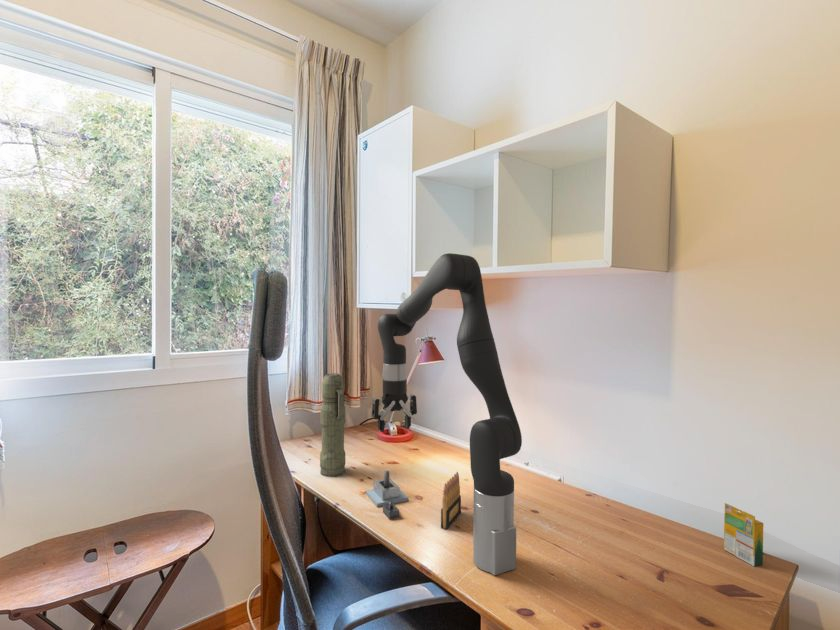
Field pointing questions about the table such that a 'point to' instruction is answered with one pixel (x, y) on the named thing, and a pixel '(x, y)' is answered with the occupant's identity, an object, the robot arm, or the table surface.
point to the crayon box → (743, 535)
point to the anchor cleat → (391, 510)
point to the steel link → (386, 490)
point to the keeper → (375, 497)
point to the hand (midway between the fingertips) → (394, 429)
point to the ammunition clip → (451, 502)
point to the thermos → (332, 426)
